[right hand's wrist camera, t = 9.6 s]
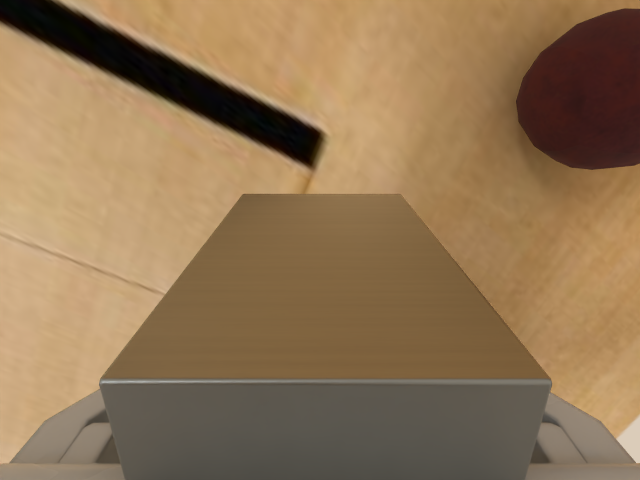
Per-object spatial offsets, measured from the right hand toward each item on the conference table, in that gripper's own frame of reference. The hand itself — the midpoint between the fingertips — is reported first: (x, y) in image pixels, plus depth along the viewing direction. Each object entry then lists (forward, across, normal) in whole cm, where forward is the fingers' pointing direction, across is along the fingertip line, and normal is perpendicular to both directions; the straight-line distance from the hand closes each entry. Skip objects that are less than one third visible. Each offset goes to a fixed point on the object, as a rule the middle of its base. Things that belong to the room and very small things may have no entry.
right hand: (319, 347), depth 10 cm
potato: (+15, -14, -6) cm, 22 cm away
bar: (+3, 0, +9) cm, 10 cm away
